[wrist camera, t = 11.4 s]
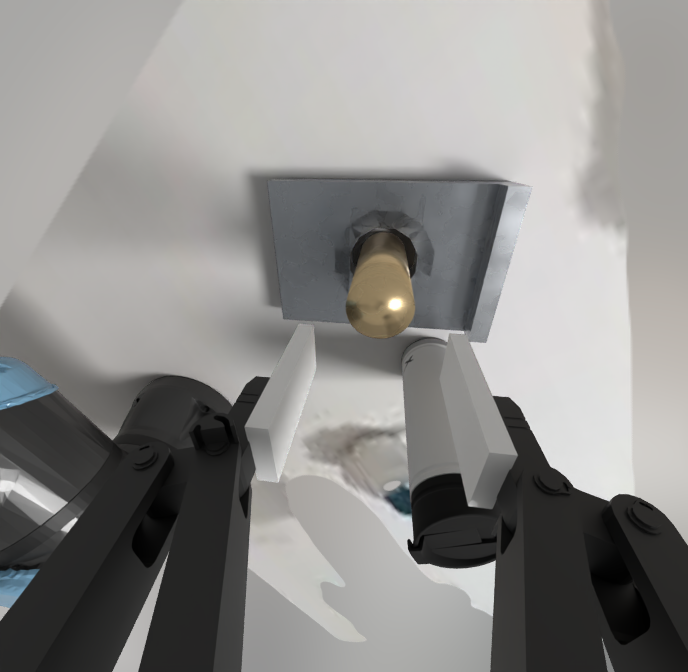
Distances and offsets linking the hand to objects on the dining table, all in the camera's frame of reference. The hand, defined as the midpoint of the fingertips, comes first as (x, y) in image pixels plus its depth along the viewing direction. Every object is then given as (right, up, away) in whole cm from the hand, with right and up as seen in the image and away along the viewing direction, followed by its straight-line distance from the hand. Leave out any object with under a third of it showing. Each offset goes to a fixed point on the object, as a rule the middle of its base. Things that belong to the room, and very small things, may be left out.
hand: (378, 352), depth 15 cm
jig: (+2, +9, +14) cm, 17 cm away
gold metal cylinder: (+2, +9, +14) cm, 17 cm away
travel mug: (+8, -2, +20) cm, 22 cm away
